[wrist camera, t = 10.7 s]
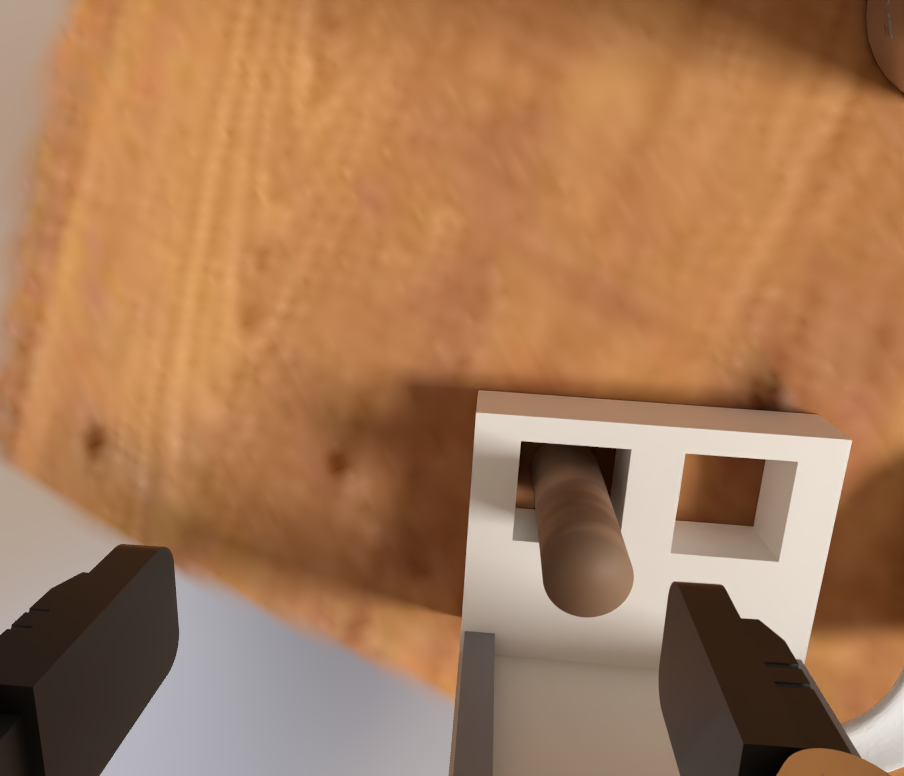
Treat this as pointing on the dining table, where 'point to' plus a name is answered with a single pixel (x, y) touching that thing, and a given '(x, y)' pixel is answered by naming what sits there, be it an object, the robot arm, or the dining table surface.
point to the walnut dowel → (578, 532)
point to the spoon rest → (881, 730)
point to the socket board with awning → (655, 568)
